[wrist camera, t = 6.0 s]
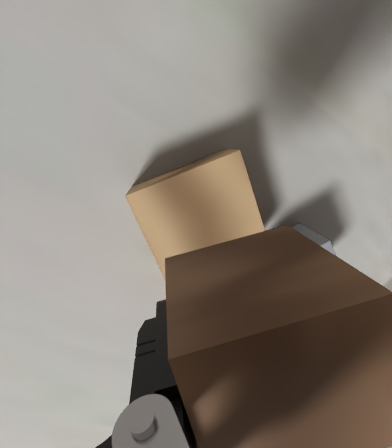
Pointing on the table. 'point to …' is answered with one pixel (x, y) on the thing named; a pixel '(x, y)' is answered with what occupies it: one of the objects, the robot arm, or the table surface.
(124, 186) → the table surface
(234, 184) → the oak base block
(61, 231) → the table surface
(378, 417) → the walnut cube
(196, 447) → the robot arm
